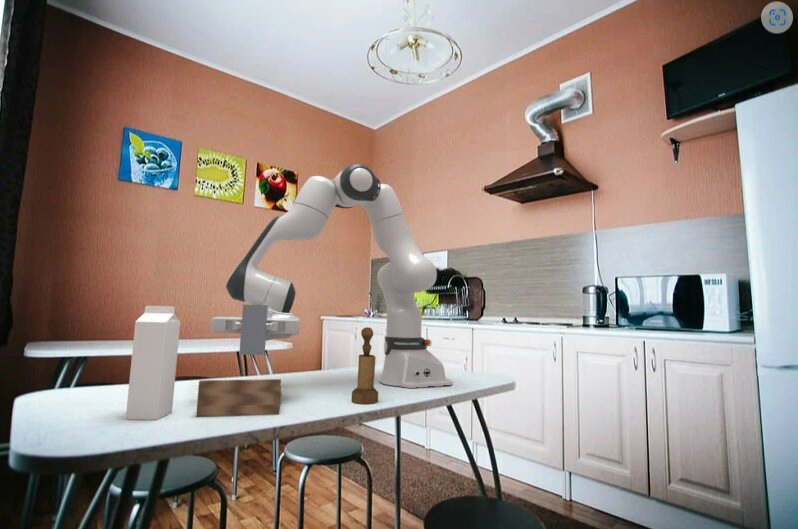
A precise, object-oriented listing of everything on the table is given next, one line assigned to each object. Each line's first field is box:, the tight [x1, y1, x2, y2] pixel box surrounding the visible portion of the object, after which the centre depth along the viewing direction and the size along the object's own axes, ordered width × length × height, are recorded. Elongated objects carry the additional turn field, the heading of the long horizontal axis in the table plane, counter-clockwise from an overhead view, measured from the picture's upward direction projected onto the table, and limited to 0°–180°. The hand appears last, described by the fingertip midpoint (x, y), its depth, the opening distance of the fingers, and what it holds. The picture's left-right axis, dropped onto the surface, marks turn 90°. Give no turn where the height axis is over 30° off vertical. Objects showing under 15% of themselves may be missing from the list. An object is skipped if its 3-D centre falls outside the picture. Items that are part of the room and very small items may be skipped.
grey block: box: [238, 303, 268, 356], centre depth 93 cm, size 5×5×11 cm
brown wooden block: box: [195, 378, 283, 418], centre depth 92 cm, size 16×16×7 cm
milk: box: [125, 305, 181, 421], centre depth 83 cm, size 6×6×22 cm
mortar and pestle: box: [351, 327, 379, 405], centre depth 101 cm, size 7×6×18 cm
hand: (253, 326), depth 92 cm, fingers closed on grey block, 5 cm apart
